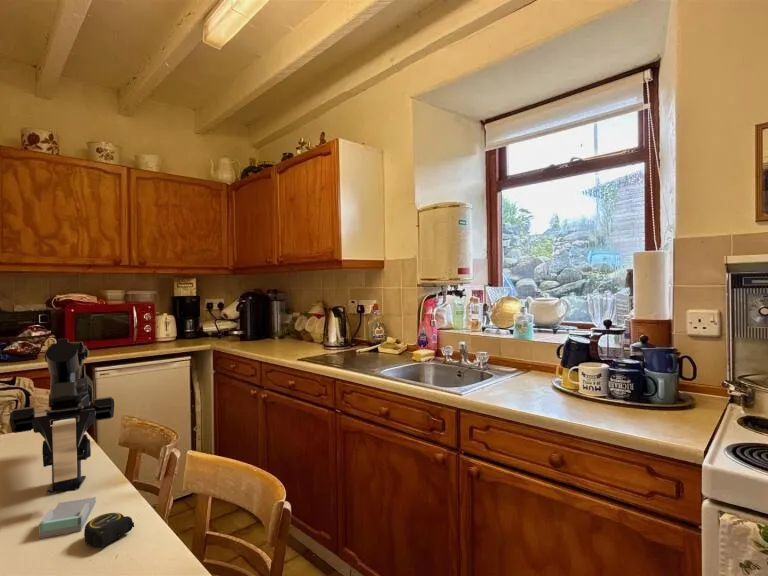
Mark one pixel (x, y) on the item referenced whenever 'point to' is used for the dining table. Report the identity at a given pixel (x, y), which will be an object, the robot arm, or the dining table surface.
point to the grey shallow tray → (66, 517)
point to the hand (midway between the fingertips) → (64, 448)
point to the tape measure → (106, 529)
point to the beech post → (64, 449)
